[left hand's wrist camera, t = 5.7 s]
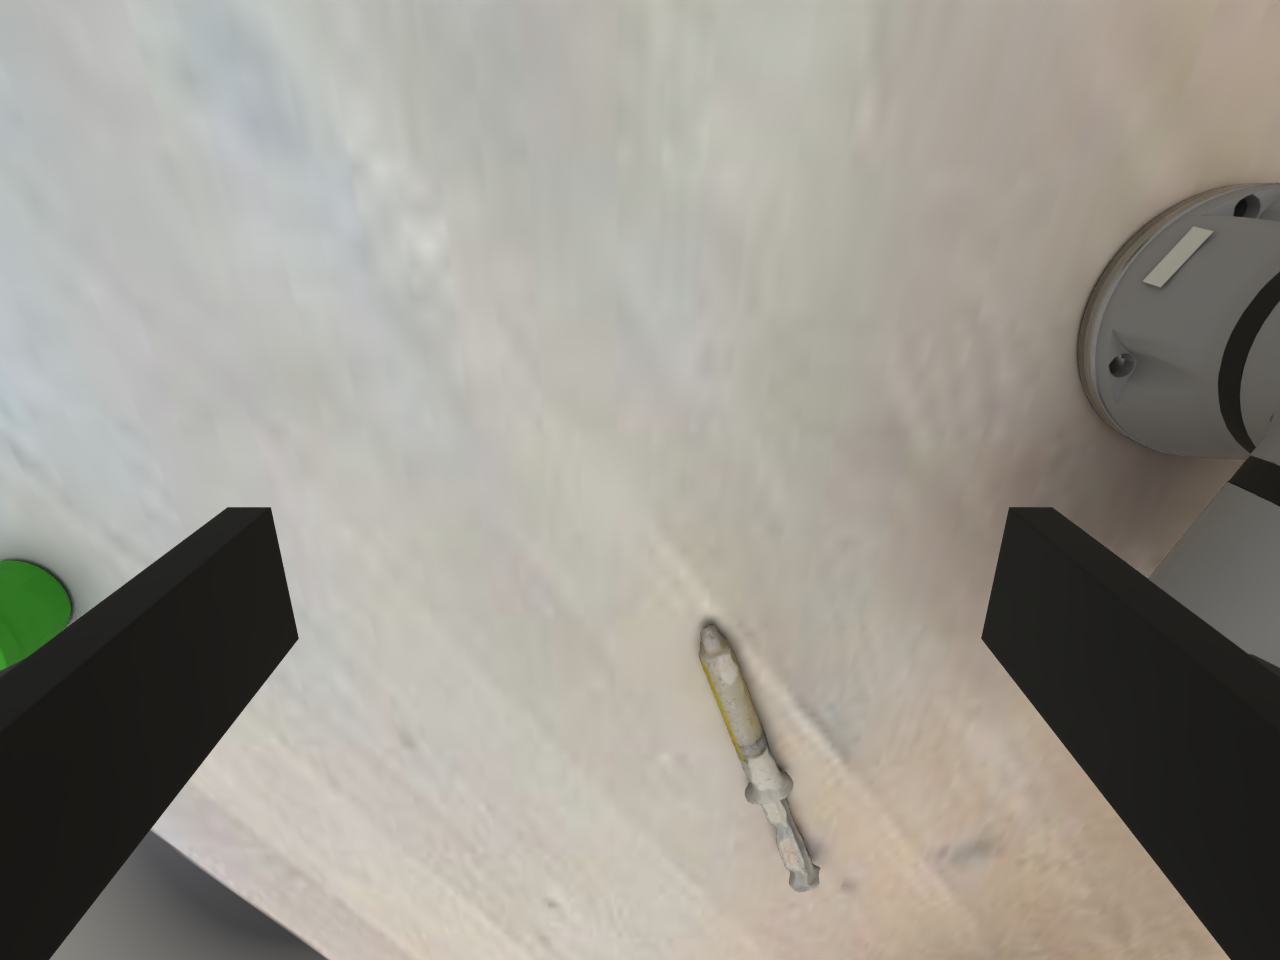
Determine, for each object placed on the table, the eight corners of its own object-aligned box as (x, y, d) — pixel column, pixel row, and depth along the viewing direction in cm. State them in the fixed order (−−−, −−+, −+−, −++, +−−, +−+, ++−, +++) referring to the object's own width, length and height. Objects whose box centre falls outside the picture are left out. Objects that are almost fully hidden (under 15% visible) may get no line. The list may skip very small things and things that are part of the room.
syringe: (687, 624, 49) (689, 648, 46) (739, 610, 48) (744, 633, 46) (773, 869, 58) (779, 900, 55) (818, 859, 57) (826, 890, 55)
